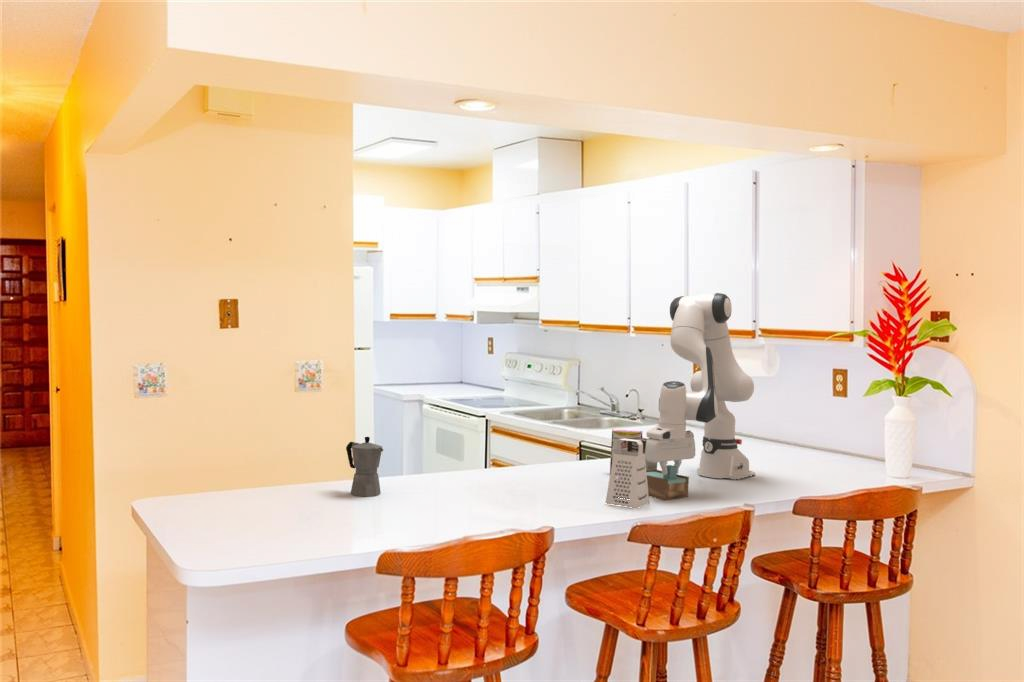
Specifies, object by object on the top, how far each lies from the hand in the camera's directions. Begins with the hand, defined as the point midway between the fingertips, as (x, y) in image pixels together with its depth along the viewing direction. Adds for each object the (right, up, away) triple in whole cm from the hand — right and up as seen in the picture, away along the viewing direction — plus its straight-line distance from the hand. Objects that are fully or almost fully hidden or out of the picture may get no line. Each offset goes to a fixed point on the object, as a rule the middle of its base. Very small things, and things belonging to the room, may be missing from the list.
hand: (670, 474), depth 295 cm
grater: (-16, -8, -13) cm, 21 cm away
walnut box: (-3, -7, +4) cm, 9 cm away
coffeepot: (-98, -5, -11) cm, 99 cm away
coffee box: (-7, -7, +18) cm, 20 cm away
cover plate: (-2, -2, +3) cm, 5 cm away
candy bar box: (-10, -6, +37) cm, 38 cm away
